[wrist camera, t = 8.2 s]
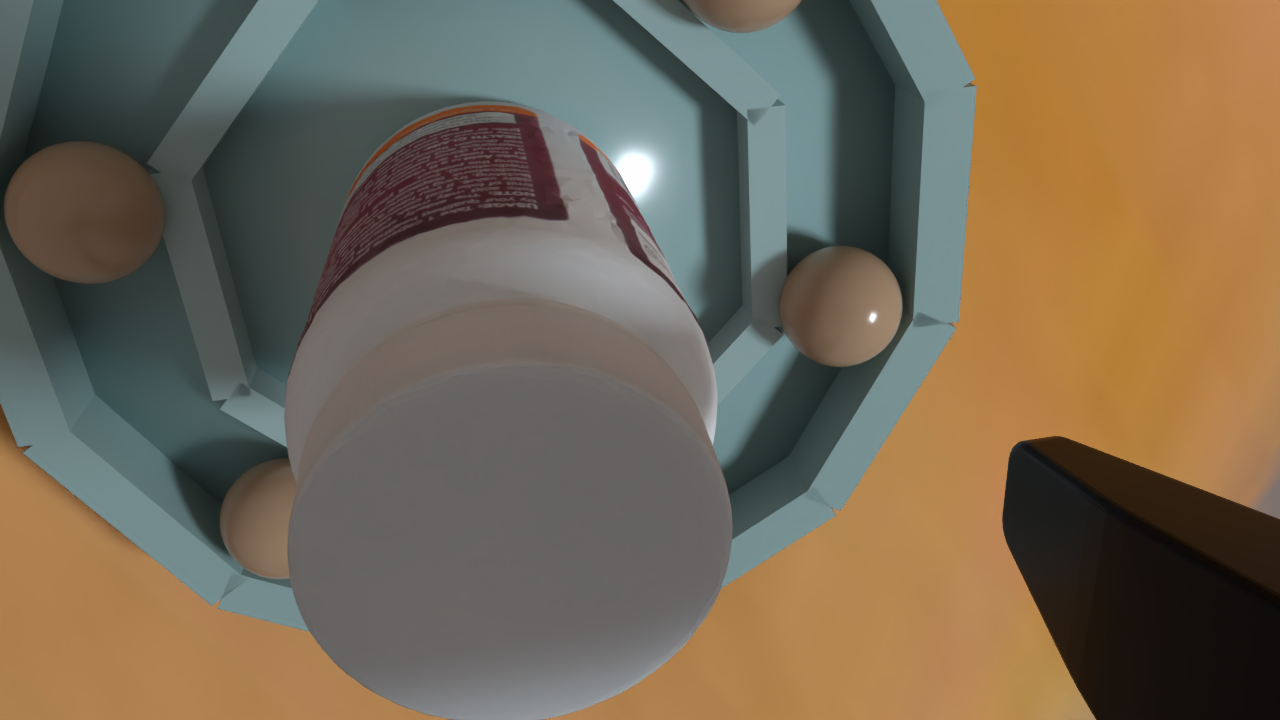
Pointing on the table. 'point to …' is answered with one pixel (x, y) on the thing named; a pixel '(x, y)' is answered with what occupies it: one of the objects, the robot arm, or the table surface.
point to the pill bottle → (501, 428)
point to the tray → (346, 138)
